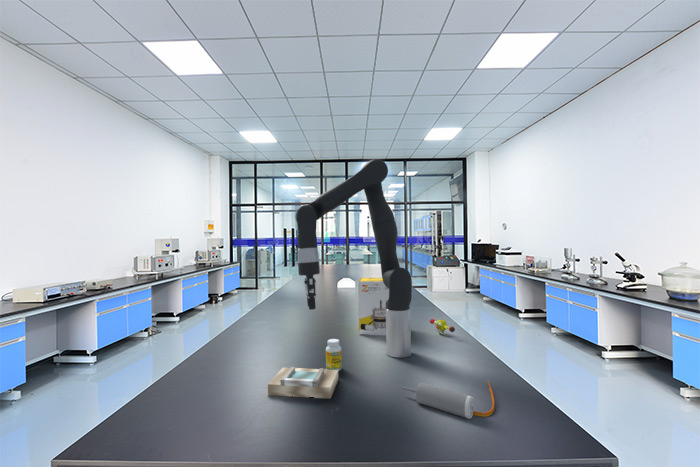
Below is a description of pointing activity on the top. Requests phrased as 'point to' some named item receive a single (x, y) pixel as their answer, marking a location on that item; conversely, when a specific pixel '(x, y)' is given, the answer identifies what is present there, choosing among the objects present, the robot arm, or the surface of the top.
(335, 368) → the supplement bottle
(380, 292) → the packaging box
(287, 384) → the dock
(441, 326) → the toy figure
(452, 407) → the motor
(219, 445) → the top surface
